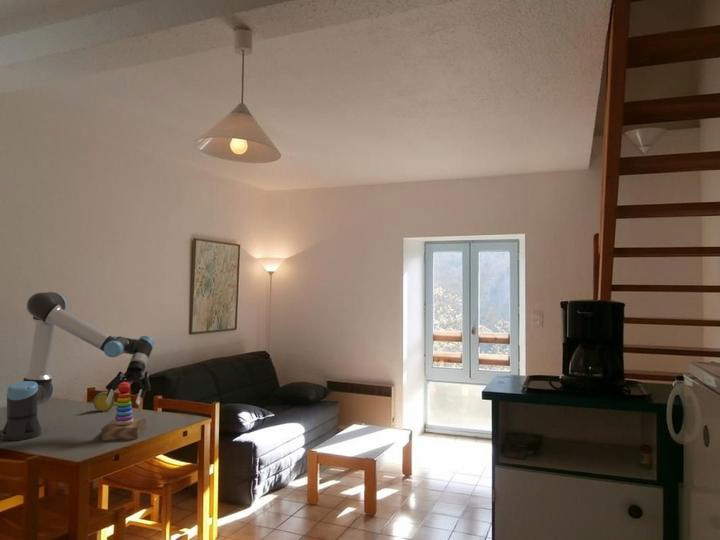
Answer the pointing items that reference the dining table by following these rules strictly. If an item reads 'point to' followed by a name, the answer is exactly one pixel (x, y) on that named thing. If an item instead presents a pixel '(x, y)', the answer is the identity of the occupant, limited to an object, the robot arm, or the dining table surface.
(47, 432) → the dining table surface
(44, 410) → the dining table surface
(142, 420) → the walnut block
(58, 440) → the dining table surface
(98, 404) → the decorative artifact
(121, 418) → the stacking toy
